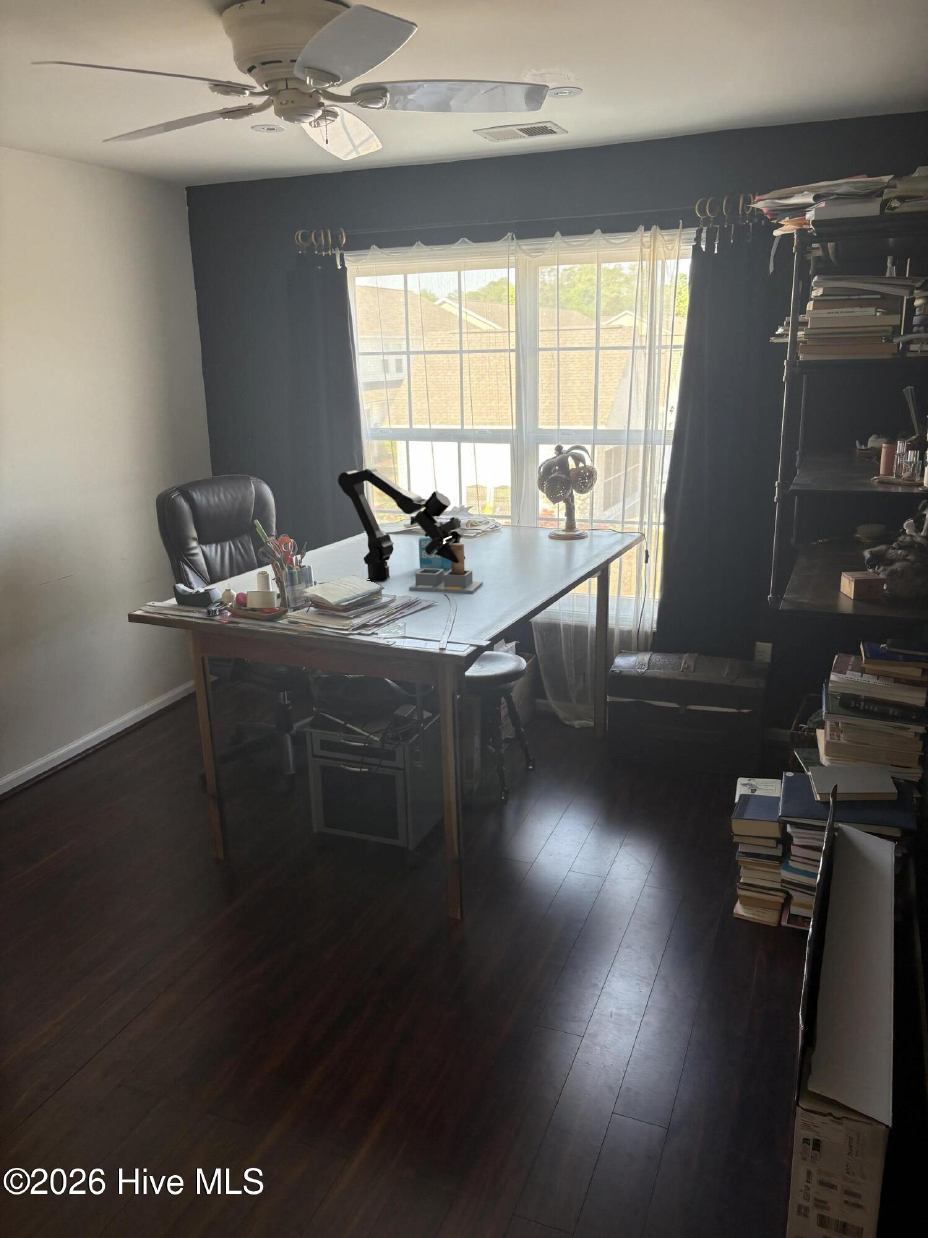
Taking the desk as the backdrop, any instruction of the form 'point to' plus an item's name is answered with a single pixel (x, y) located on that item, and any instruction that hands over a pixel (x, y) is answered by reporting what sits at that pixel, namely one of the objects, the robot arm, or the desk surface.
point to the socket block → (444, 581)
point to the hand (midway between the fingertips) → (461, 560)
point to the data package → (431, 557)
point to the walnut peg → (459, 552)
